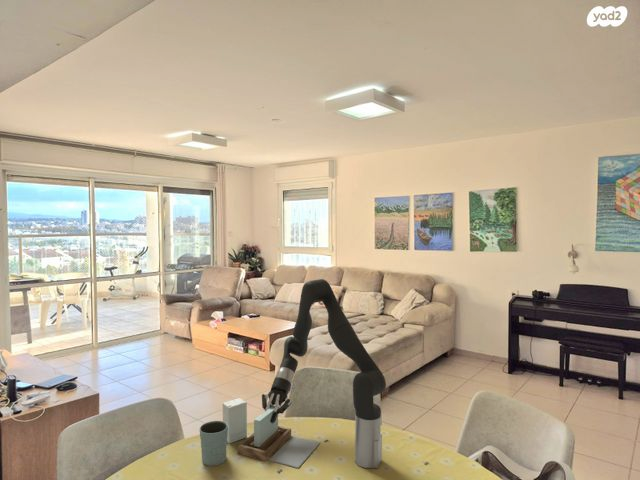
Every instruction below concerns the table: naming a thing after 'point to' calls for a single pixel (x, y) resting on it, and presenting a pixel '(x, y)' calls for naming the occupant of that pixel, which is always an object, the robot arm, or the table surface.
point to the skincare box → (235, 419)
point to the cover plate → (264, 427)
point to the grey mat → (294, 452)
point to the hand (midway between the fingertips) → (268, 421)
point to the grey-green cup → (213, 442)
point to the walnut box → (265, 444)
